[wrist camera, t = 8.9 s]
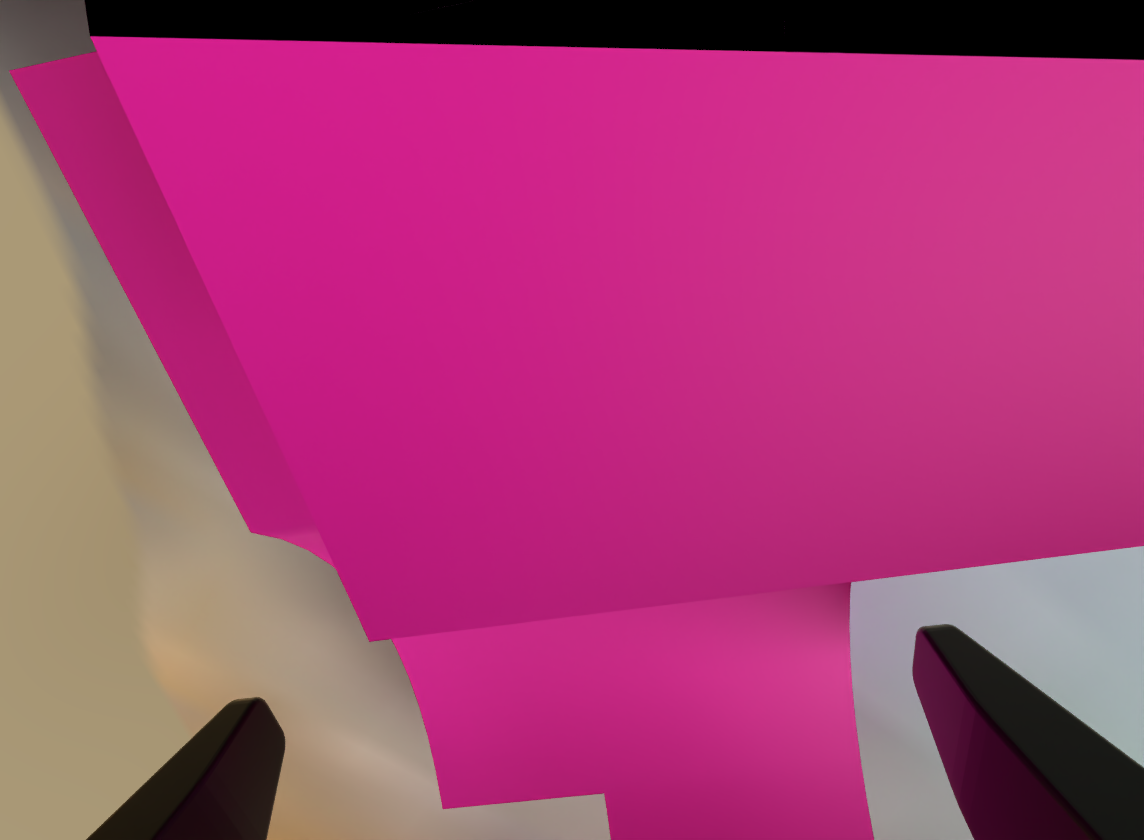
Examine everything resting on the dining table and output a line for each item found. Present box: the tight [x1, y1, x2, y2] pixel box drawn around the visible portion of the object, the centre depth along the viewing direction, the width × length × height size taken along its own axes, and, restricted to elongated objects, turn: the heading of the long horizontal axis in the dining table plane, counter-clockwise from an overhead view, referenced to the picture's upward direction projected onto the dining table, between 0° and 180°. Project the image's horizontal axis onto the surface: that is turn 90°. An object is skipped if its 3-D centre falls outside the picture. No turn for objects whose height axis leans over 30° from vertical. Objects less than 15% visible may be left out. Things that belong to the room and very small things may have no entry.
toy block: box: [9, 0, 1144, 840], centre depth 9 cm, size 15×6×8 cm, turn 10°
